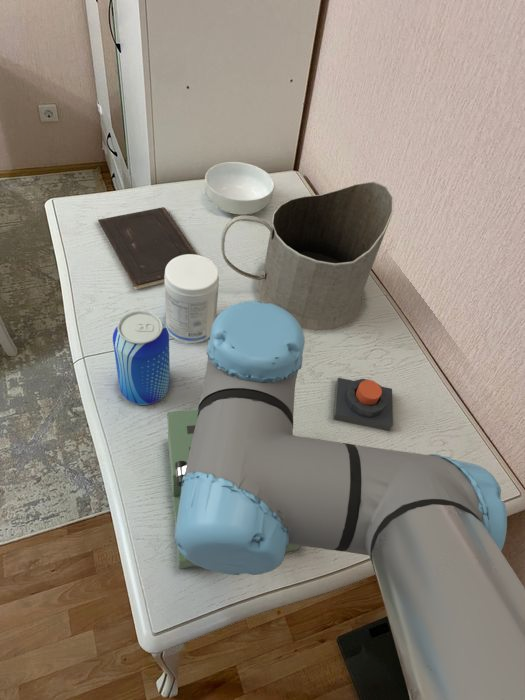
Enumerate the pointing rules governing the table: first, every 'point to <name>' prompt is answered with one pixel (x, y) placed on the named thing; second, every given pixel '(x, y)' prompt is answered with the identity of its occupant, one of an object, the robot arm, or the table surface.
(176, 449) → the toaster
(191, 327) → the supplement tub
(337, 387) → the control block
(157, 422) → the table surface
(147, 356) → the beer can
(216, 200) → the cereal bowl
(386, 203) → the pitcher
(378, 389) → the button
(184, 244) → the hardcover book
